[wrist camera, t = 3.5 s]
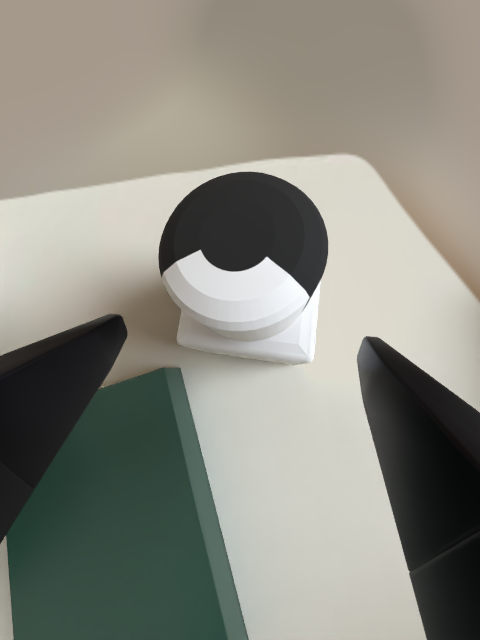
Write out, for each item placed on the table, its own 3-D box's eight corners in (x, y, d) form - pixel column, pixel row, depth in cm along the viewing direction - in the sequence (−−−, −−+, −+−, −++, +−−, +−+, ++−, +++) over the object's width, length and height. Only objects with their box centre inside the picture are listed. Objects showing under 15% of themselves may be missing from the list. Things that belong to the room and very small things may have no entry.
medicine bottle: (222, 270, 21) (156, 141, 9) (307, 277, 19) (359, 142, 8) (208, 352, 19) (111, 330, 8) (298, 365, 18) (345, 362, 7)
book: (248, 639, 15) (243, 703, 12) (67, 685, 16) (21, 755, 13) (180, 367, 19) (164, 367, 16) (37, 415, 20) (-3, 423, 17)
